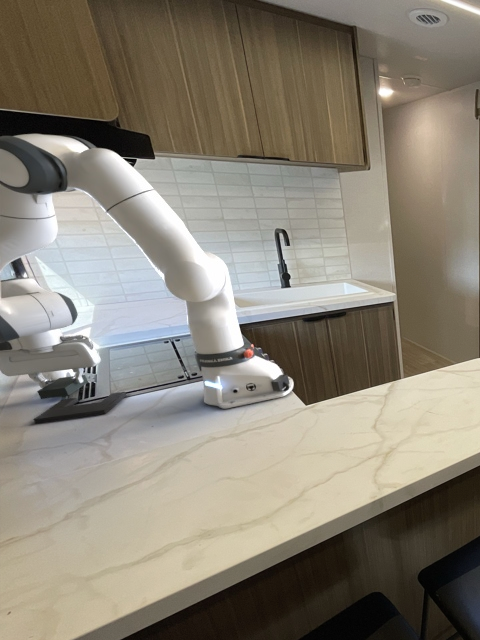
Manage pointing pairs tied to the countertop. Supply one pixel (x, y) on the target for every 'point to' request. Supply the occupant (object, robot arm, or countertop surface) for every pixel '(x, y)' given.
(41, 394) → the pad
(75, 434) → the countertop surface
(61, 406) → the notch mat
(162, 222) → the robot arm
